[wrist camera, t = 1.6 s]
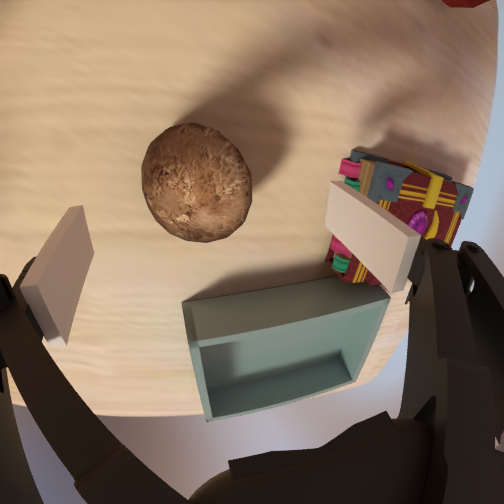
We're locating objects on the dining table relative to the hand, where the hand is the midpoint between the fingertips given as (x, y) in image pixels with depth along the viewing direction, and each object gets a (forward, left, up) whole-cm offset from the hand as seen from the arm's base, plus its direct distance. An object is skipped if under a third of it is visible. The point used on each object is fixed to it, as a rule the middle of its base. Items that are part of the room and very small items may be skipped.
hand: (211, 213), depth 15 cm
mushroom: (0, 0, -8) cm, 8 cm away
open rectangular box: (+8, -19, -8) cm, 22 cm away
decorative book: (+19, -5, -8) cm, 21 cm away
